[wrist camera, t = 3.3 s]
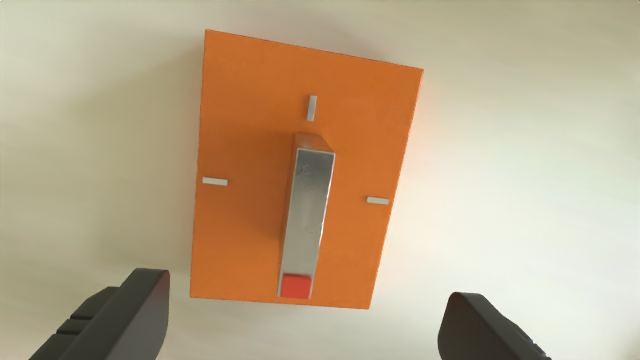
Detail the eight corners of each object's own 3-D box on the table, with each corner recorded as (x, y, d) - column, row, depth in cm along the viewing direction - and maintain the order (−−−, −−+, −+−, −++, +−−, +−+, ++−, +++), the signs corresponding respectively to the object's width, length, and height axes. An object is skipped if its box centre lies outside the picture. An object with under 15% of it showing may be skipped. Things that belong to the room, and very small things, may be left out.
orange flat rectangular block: (217, 38, 19) (203, 27, 16) (405, 72, 21) (425, 69, 18) (201, 271, 23) (188, 299, 20) (359, 284, 25) (369, 311, 22)
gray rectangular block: (294, 131, 18) (297, 148, 12) (321, 135, 18) (337, 154, 13) (279, 242, 20) (275, 301, 14) (304, 244, 20) (311, 303, 14)
